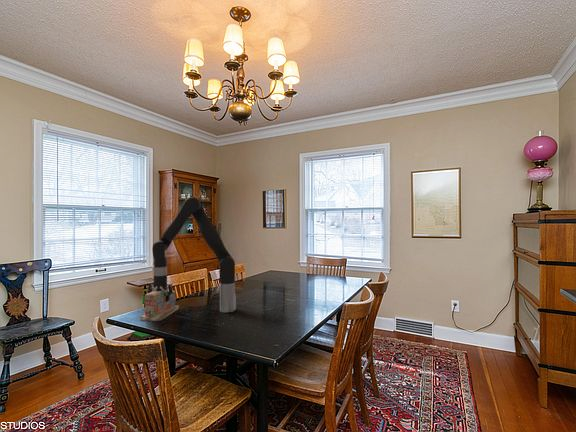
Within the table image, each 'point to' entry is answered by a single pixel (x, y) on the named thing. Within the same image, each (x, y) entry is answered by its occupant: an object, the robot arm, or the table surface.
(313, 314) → the table surface
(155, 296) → the stack of blocks
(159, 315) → the birch board
